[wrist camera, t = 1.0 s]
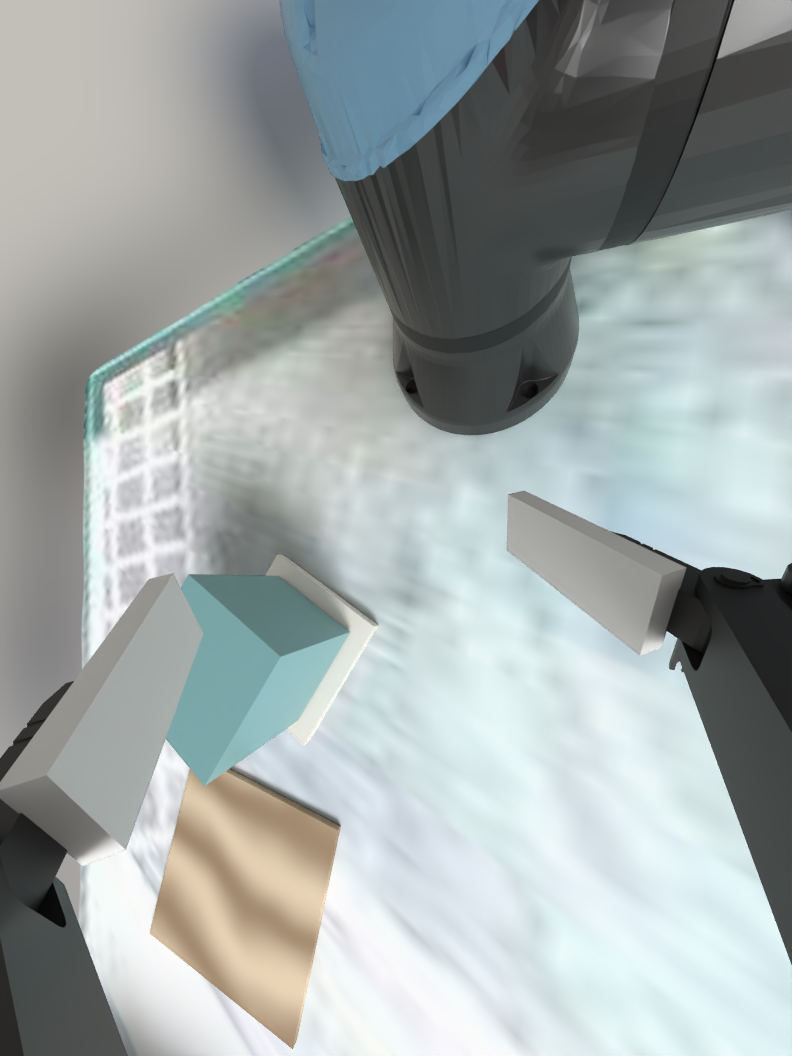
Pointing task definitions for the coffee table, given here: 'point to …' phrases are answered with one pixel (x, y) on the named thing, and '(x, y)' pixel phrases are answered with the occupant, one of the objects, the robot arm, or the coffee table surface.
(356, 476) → the coffee table surface
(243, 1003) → the cork mat
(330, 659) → the aqua blue cube
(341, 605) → the off-white box
